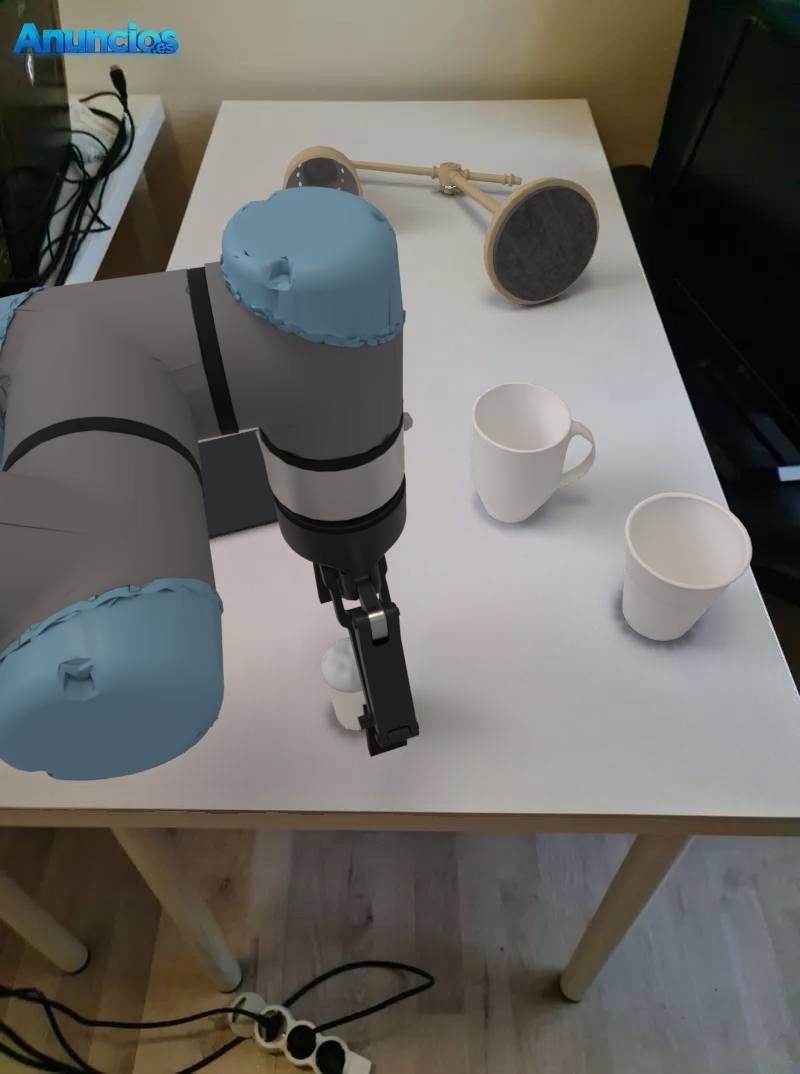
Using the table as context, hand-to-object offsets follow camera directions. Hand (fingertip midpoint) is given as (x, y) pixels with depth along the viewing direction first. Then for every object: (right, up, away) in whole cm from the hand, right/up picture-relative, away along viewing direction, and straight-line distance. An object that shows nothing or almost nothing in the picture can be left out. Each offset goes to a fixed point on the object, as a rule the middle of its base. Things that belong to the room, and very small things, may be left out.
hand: (359, 666), depth 63 cm
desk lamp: (+6, +51, +51) cm, 72 cm away
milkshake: (0, -5, +6) cm, 8 cm away
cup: (+26, +3, +12) cm, 29 cm away
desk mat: (-10, +16, +23) cm, 30 cm away
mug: (+15, +13, +20) cm, 29 cm away
